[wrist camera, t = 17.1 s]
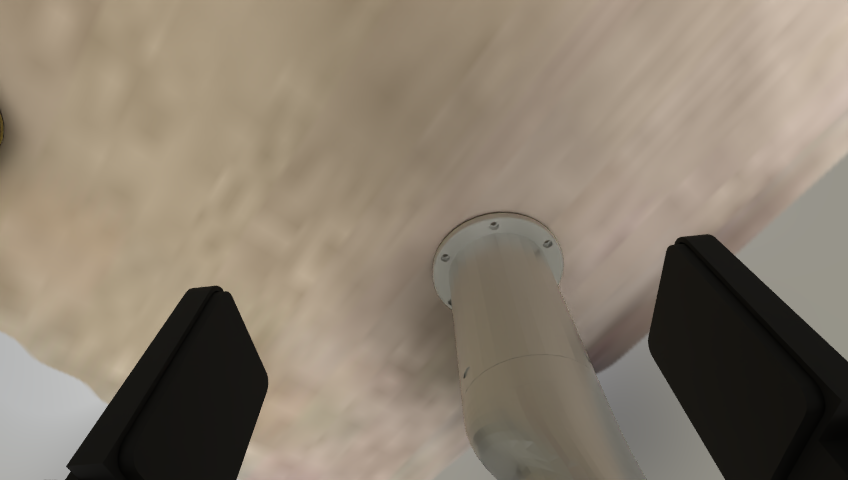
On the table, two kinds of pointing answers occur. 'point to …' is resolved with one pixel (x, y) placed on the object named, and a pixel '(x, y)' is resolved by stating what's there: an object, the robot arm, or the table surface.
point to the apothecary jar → (1, 129)
